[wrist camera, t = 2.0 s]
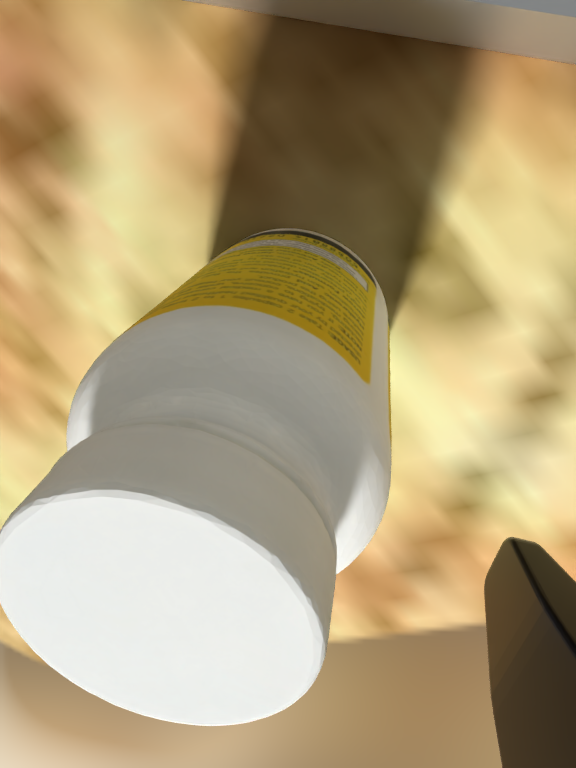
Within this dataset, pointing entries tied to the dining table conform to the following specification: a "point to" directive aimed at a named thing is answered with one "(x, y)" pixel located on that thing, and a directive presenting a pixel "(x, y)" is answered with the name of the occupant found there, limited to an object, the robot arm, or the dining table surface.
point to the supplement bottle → (213, 488)
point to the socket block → (444, 21)
